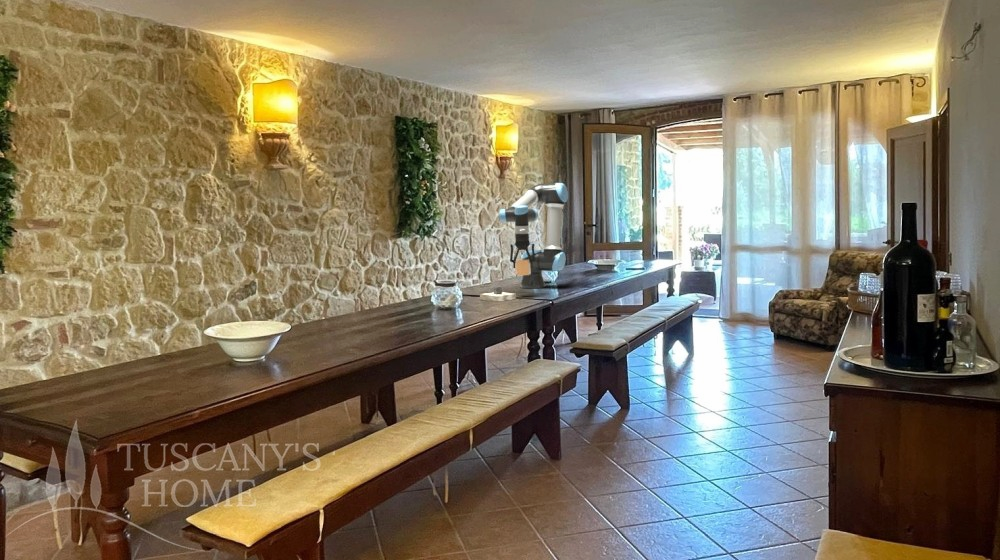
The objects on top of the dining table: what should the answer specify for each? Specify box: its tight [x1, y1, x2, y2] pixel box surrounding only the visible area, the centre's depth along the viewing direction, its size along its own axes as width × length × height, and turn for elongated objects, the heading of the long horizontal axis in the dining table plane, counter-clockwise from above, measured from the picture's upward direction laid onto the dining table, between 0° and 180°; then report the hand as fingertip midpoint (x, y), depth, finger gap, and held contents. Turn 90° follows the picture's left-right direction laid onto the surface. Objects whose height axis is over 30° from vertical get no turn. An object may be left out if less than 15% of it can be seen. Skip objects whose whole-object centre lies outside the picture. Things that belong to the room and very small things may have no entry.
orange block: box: [516, 259, 529, 276], centre depth 394 cm, size 7×7×8 cm
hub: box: [479, 285, 517, 303], centre depth 386 cm, size 14×14×7 cm
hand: (523, 273), depth 394 cm, fingers closed on orange block, 7 cm apart
